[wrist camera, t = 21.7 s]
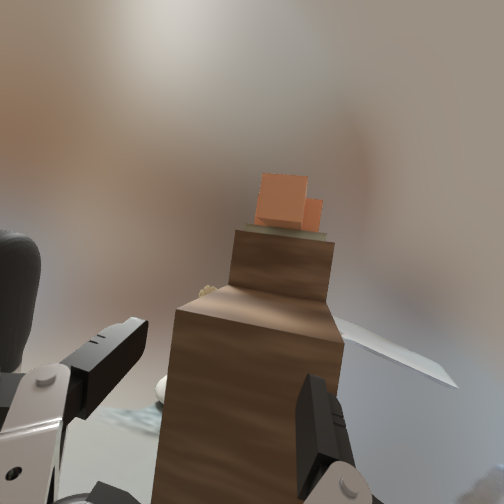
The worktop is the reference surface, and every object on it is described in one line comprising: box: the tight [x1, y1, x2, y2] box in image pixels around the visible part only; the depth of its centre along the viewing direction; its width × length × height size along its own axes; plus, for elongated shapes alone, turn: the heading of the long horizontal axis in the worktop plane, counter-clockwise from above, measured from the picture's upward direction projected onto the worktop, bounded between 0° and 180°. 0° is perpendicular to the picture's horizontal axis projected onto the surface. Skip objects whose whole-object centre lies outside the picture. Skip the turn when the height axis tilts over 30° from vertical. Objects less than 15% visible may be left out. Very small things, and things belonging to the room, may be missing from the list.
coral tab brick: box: [254, 173, 323, 232], centre depth 31 cm, size 19×8×4 cm, turn 168°
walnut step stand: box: [151, 224, 344, 504], centre depth 30 cm, size 25×12×38 cm, turn 168°
